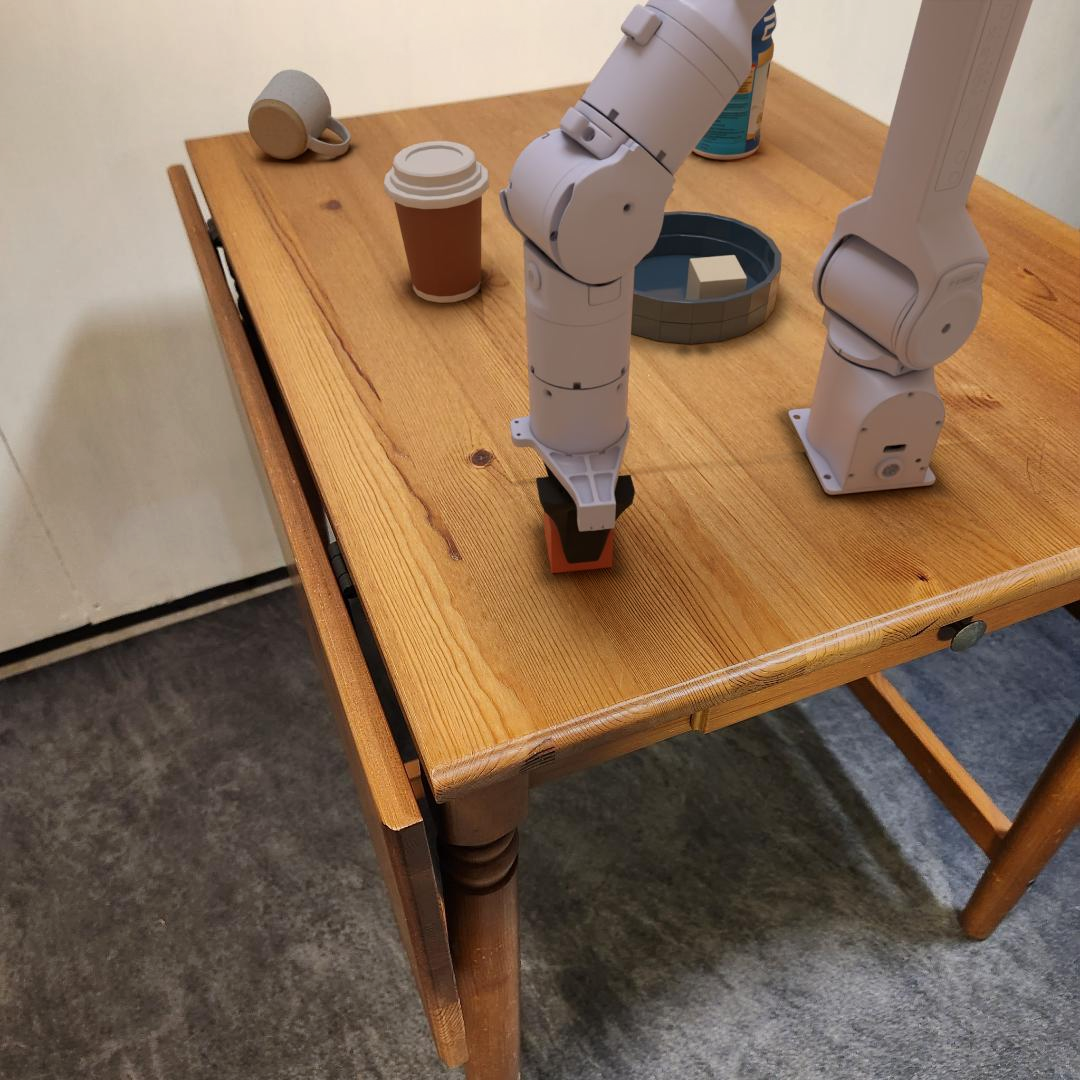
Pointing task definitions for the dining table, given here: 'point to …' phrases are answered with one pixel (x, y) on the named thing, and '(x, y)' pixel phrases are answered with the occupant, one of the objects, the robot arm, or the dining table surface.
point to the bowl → (666, 275)
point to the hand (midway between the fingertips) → (577, 533)
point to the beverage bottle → (744, 102)
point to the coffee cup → (440, 217)
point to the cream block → (714, 277)
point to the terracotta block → (558, 557)
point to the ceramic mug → (294, 117)
